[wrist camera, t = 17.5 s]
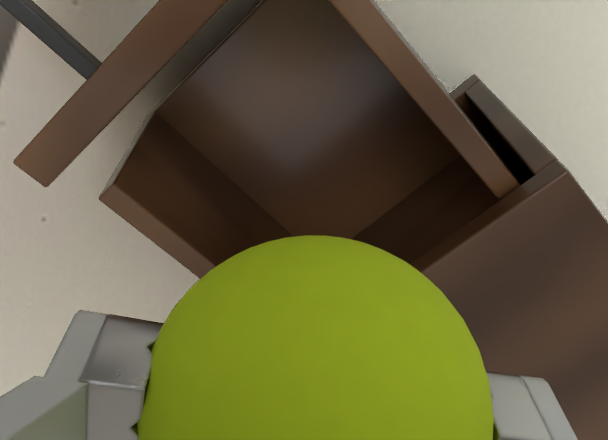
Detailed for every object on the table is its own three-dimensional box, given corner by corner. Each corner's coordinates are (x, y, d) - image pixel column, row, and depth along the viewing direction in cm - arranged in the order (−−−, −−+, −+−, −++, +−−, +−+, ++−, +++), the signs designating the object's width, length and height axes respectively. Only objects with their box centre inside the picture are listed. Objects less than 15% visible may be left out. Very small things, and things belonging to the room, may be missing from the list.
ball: (160, 375, 14) (82, 672, 9) (189, 150, 11) (95, 396, 6) (399, 408, 15) (458, 699, 9) (486, 206, 12) (645, 469, 6)
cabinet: (266, 241, 29) (258, 386, 21) (474, 73, 25) (568, 169, 17) (436, 388, 35) (482, 547, 26) (627, 271, 31) (754, 416, 22)
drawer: (-18, -11, 22) (-154, 37, 15) (181, -274, 18) (119, -365, 11) (309, 274, 29) (315, 393, 22) (500, 129, 25) (577, 219, 18)
